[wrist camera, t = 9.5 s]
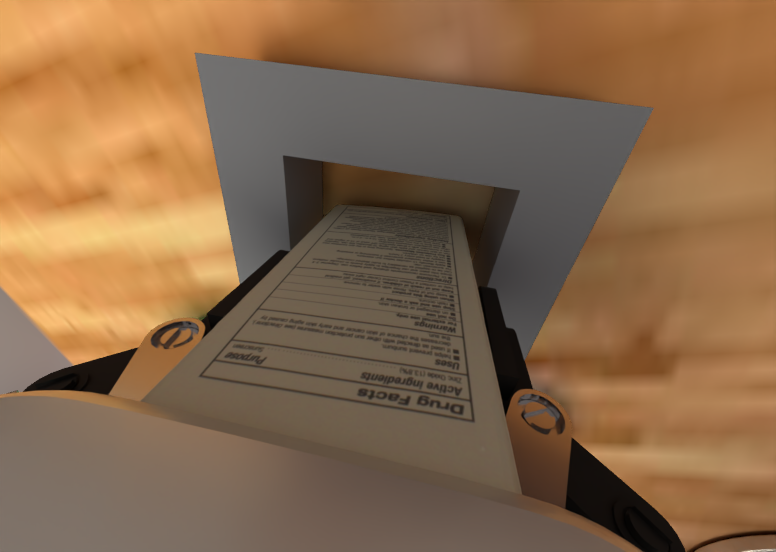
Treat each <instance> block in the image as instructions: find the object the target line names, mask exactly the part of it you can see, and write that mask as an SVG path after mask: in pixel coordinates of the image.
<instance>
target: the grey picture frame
mask: <svg viewBox="0 0 776 552" xmlns="http://www.w3.org/2000/svg"><path fill="white" fill-rule="evenodd" d="M195 56H196V62H197V67H198V72H199V77H200V82H201V87H202V92H203V97H204V102H205V108H206V113H207V118H208V123H209V128H210V133H211V138H212V143H213V148H214V153H215V159H216V164H217V169H218V174H219V179H220V184H221V189H222V194H223V199H224V205H225V210H226V215H227V220H228V225H229V230H230V235H231V240H232V245H233V251H234V256H235V261H236V266H237V271H238V276H239V281H240V284H241V283H242V282H243V281H244V280H246V279H247V278H248V277H249V276H250V275H251V274H252V273H254V272H255V271H256V270H257V269H258V268H259V267H260V266H262V265H263V264H264V263H265V262H266V261H267V260H268V259H269V258H271V257H272V256H273V255H274V254H275V253H276V252H277V251H279V250H285V251H291V250H292V249H293V248H294V247H295V246H296V245H297V244H298V243H299V242H300V241H301V240H302V239H303V238H304V237H305V236H306V235H307V234H308V233H309V232H310V231H311V230H312V229H313V228H314V227H315V226H316V225H317V224H318V223H319V222H320V221H321V220H322V219H323V180H322V161H325V162H332V163H338V164H345V165H352V166H359V167H365V168H372V169H379V170H385V171H392V172H399V173H406V174H412V175H419V176H426V177H432V178H439V179H446V180H453V181H459V182H466V183H473V184H479V185H486V186H493V187H495V190H494V194H493V197H492V200H491V204H490V207H489V210H488V214H487V217H486V220H485V224H484V227H483V230H482V234H481V237H480V240H479V244H478V247H477V250H476V254H475V257H474V260H473V264H472V265H473V270H474V275H475V279H476V283H477V288H478V287H479V286H484V287H490V288H495V289H496V290H497V294H498V298H499V302H500V306H501V309H502V313H503V317H504V321H505V325H506V327H508V328H513V329H514V330H515V332H516V334H517V338H518V341H519V344H520V348H521V351H522V354H523V358H524V360H525V358H526V356H527V355H528V353H529V351H530V349H531V347H532V345H533V343H534V341H535V339H536V337H537V335H538V333H539V331H540V329H541V327H542V325H543V323H544V321H545V319H546V317H547V315H548V314H549V312H550V310H551V308H552V306H553V304H554V302H555V300H556V298H557V296H558V294H559V292H560V290H561V288H562V286H563V284H564V282H565V280H566V278H567V276H568V274H569V273H570V271H571V269H572V267H573V265H574V263H575V261H576V259H577V257H578V255H579V253H580V251H581V249H582V247H583V245H584V243H585V241H586V239H587V237H588V235H589V233H590V231H591V230H592V228H593V226H594V224H595V222H596V220H597V218H598V216H599V214H600V212H601V210H602V208H603V206H604V204H605V202H606V200H607V198H608V196H609V194H610V192H611V190H612V189H613V187H614V185H615V183H616V181H617V179H618V177H619V175H620V173H621V171H622V169H623V167H624V165H625V163H626V161H627V159H628V157H629V155H630V153H631V151H632V149H633V148H634V146H635V144H636V142H637V140H638V138H639V136H640V134H641V132H642V130H643V128H644V126H645V124H646V122H647V120H648V118H649V116H650V114H651V112H652V110H653V108H650V107H642V106H633V105H625V104H617V103H608V102H600V101H592V100H583V99H575V98H567V97H558V96H550V95H542V94H533V93H525V92H517V91H509V90H500V89H492V88H484V87H475V86H467V85H459V84H450V83H442V82H434V81H425V80H417V79H409V78H400V77H392V76H384V75H375V74H367V73H359V72H351V71H342V70H334V69H326V68H317V67H309V66H301V65H292V64H284V63H276V62H267V61H259V60H251V59H242V58H234V57H226V56H217V55H209V54H201V53H195Z"/></svg>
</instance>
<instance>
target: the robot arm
mask: <svg viewBox="0 0 776 552" xmlns="http://www.w3.org/2000/svg"><path fill="white" fill-rule="evenodd" d="M289 252H290V251H285V250H279V251H277V252H276V253H275V254H274V255H273V256H272V257H271V258H269V259H268V260H267V261H266V262H265V263H264V264H263V265H262V266H260V267H259V268H258V269H257V270H256V271H255V272H254V273H252V274H251V275H250V276H249V277H248V278H247V279H246V280H244V281H243V282H242V283H241V284H240V285H239V286H238V287H237V288H235V289H234V290H233V291H232V292H231V293H230V294H229V295H227V296H226V297H225V298H224V299H223V300H222V301H221V302H219V303H218V304H217V305H216V306H215V307H214V308H213V309H212V310H210V311H209V312H208V313H207V317H205V318H204V319H203V320H202V321H200V320H198V319H194V318H179V319H174V320H171V321H167V322H165V323H163V324H161V325H158V326H157V327H155V328H154V329H153V330H151V331H150V332H149V333H148V334H147V336H146V337H145V338H144V340H143V341H142V343H141V345H140V346H139V347H138V348H135V349H131V350H128V351H124V352H120V353H117V354H113V355H110V356H106V357H103V358H99V359H96V360H92V361H89V362H85V363H82V364H78V365H75V366H71V367H68V368H64V369H61V370H59V371H56V372H53V373H50V374H48V375H47V376H44V377H42V378H41V379H39V380H37V381H36V382H34V383H33V384H31V385H30V386H28V387H27V388H26V389H25V390H24V391H23V392H18V390H17V391H13V392H10V393H7V394H1V395H0V552H685V548H684V546H683V545H682V543H681V541H680V539H679V537H678V535H677V534H676V532H675V531H674V530H673V528H672V527H671V526H670V524H669V523H668V522H667V520H666V519H665V518H664V517H663V516H662V515H661V514H659V513H658V512H657V511H656V510H655V509H654V508H653V507H652V506H651V505H650V504H649V503H647V502H646V501H645V500H644V499H643V498H642V497H640V496H639V495H638V494H637V493H636V492H635V491H633V490H632V489H631V488H630V487H629V486H628V485H626V484H625V483H624V482H623V481H622V480H621V479H620V478H618V477H617V476H616V475H615V474H614V473H613V472H611V471H610V470H609V469H608V468H607V467H606V466H604V465H603V464H602V463H601V462H600V461H599V460H597V459H596V458H595V457H594V456H593V455H592V454H590V453H589V452H588V451H587V450H586V449H585V448H583V447H582V446H581V445H580V444H579V443H578V442H577V441H575V440H574V439H573V438H572V422H571V420H570V418H569V416H568V414H567V412H566V411H565V410H564V409H563V407H562V406H561V405H560V404H559V403H558V402H557V401H555V400H554V399H553V398H551V397H550V396H548V395H547V394H545V393H542V392H540V391H537V390H533V388H532V384H531V381H530V378H529V374H528V371H527V368H526V364H525V361H524V358H523V354H522V351H521V348H520V344H519V341H518V338H517V334H516V332H515V330H514V329H513V328H508V327H506V325H505V321H504V317H503V313H502V309H501V306H500V302H499V298H498V294H497V290H496V289H495V288H490V287H484V286H479V287H478V292H479V297H480V302H481V307H482V311H483V316H484V322H485V326H486V331H487V335H488V339H489V344H490V348H491V353H492V357H493V362H494V366H495V371H496V375H497V380H498V385H499V389H500V394H501V398H502V403H503V408H504V413H505V418H506V422H507V427H508V432H509V436H510V440H511V444H512V449H513V453H514V458H515V463H516V468H517V473H518V477H519V482H520V487H521V491H522V495H521V494H518V493H514V492H510V491H506V490H503V489H499V488H495V487H491V486H488V485H484V484H480V483H476V482H473V481H469V480H465V479H461V478H457V477H453V476H449V475H445V474H441V473H437V472H433V471H429V470H425V469H421V468H417V467H413V466H409V465H405V464H401V463H397V462H393V461H389V460H385V459H381V458H377V457H373V456H369V455H365V454H361V453H356V452H352V451H348V450H344V449H340V448H336V447H332V446H328V445H323V444H319V443H315V442H311V441H307V440H303V439H299V438H294V437H290V436H286V435H282V434H278V433H274V432H270V431H265V430H261V429H257V428H253V427H249V426H244V425H240V424H236V423H232V422H228V421H223V420H219V419H215V418H211V417H206V416H202V415H198V414H194V413H189V412H185V411H181V410H177V409H172V408H168V407H163V406H159V405H154V404H150V403H145V402H140V401H141V400H142V399H143V398H144V397H145V396H146V395H147V394H148V393H149V392H150V391H151V390H152V389H153V388H154V387H155V386H156V385H157V384H158V383H159V382H160V381H161V380H162V379H163V378H164V377H165V376H166V375H167V374H168V373H169V372H170V371H171V370H172V369H173V368H174V367H175V366H176V365H177V364H178V363H179V362H180V361H181V360H182V359H183V358H184V357H185V356H186V355H187V354H188V353H189V352H190V351H191V350H192V349H193V348H194V347H195V346H196V345H197V344H198V343H199V342H200V341H201V340H202V339H203V338H204V337H205V336H206V335H207V334H208V333H209V332H210V331H211V330H212V329H213V328H214V327H215V326H216V325H217V323H218V322H219V321H221V320H222V319H223V318H224V317H225V316H226V315H227V314H228V313H229V312H230V311H231V310H232V309H233V308H234V307H235V306H236V305H237V304H238V303H239V302H240V301H241V300H242V299H243V298H244V297H245V296H246V295H247V294H248V293H249V292H250V291H251V290H252V289H253V288H254V287H255V286H256V285H257V284H258V283H259V282H260V281H261V280H262V279H263V278H264V277H265V276H266V275H267V274H268V273H269V272H270V271H271V270H272V269H273V268H274V267H275V266H276V265H277V264H278V263H279V262H280V261H281V260H282V259H283V258H284V257H285V256H286V255H287V254H288V253H289ZM694 552H776V535H755V536H745V537H737V538H731V539H726V540H722V541H718V542H714V543H711V544H708V545H705V546H703V547H701V548H699V549H697V550H696V551H694Z"/></svg>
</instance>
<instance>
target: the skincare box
mask: <svg viewBox="0 0 776 552" xmlns="http://www.w3.org/2000/svg"><path fill="white" fill-rule="evenodd" d="M140 402H145V403H150V404H154V405H159V406H163V407H168V408H172V409H177V410H181V411H185V412H189V413H194V414H198V415H202V416H206V417H211V418H215V419H219V420H223V421H228V422H232V423H236V424H240V425H244V426H249V427H253V428H257V429H261V430H265V431H270V432H274V433H278V434H282V435H286V436H290V437H294V438H299V439H303V440H307V441H311V442H315V443H319V444H323V445H328V446H332V447H336V448H340V449H344V450H348V451H352V452H356V453H361V454H365V455H369V456H373V457H377V458H381V459H385V460H389V461H393V462H397V463H401V464H405V465H409V466H413V467H417V468H421V469H425V470H429V471H433V472H437V473H441V474H445V475H449V476H453V477H457V478H461V479H465V480H469V481H473V482H476V483H480V484H484V485H488V486H491V487H495V488H499V489H503V490H506V491H510V492H514V493H518V494H521V495H522V491H521V487H520V482H519V477H518V473H517V468H516V463H515V458H514V453H513V449H512V444H511V440H510V436H509V432H508V427H507V422H506V418H505V413H504V408H503V403H502V398H501V394H500V389H499V385H498V380H497V375H496V371H495V366H494V362H493V357H492V353H491V348H490V344H489V339H488V335H487V331H486V326H485V322H484V316H483V311H482V307H481V302H480V297H479V292H478V288H477V283H476V279H475V275H474V270H473V265H472V261H471V256H470V251H469V246H468V242H467V238H466V233H465V228H464V224H463V219H462V218H461V217H460V216H455V215H447V214H440V213H432V212H423V211H414V210H404V209H393V208H382V207H369V206H354V205H336V206H335V207H334V208H333V209H332V210H331V211H330V212H329V213H328V214H327V215H326V216H325V217H324V218H323V219H322V220H321V221H320V222H319V223H318V224H317V225H316V226H315V227H314V228H313V229H312V230H311V231H310V232H309V233H308V234H307V235H306V236H305V237H304V238H303V239H302V240H301V241H300V242H299V243H298V244H297V245H296V246H295V247H294V248H293V249H292V250H291V251H290V252H289V253H288V254H287V255H286V256H285V257H284V258H283V259H282V260H281V261H280V262H279V263H278V264H277V265H276V266H275V267H274V268H273V269H272V270H271V271H270V272H269V273H268V274H267V275H266V276H265V277H264V278H263V279H262V280H261V281H260V282H259V283H258V284H257V285H256V286H255V287H254V288H253V289H252V290H251V291H250V292H249V293H248V294H247V295H246V296H245V297H244V298H243V299H242V300H241V301H240V302H239V303H238V304H237V305H236V306H235V307H234V308H233V309H232V310H231V311H230V312H229V313H228V314H227V315H226V316H225V317H224V318H223V319H222V320H221V321H219V322H218V323H217V325H216V326H215V327H214V328H213V329H212V330H211V331H210V332H209V333H208V334H207V335H206V336H205V337H204V338H203V339H202V340H201V341H200V342H199V343H198V344H197V345H196V346H195V347H194V348H193V349H192V350H191V351H190V352H189V353H188V354H187V355H186V356H185V357H184V358H183V359H182V360H181V361H180V362H179V363H178V364H177V365H176V366H175V367H174V368H173V369H172V370H171V371H170V372H169V373H168V374H167V375H166V376H165V377H164V378H163V379H162V380H161V381H160V382H159V383H158V384H157V385H156V386H155V387H154V388H153V389H152V390H151V391H150V392H149V393H148V394H147V395H146V396H145V397H144V398H143V399H142V400H141V401H140Z"/></svg>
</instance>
